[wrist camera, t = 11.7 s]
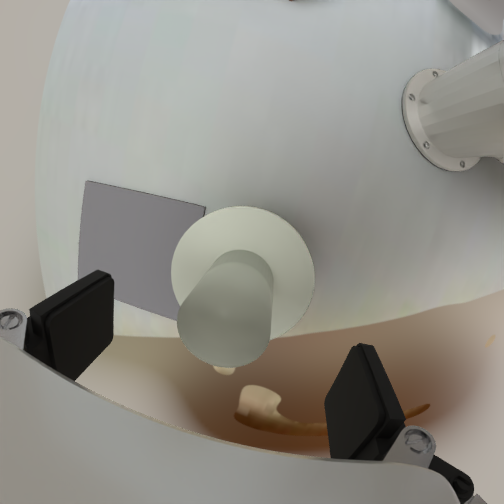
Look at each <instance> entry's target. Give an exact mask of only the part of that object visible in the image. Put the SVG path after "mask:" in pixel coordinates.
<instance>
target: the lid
mask: <svg viewBox="0 0 504 504" xmlns="http://www.w3.org/2000/svg"><path fill="white" fill-rule="evenodd" d="M171 280H172V286H173V290H174V293H175V296H176V299H177V301H178V303H179V305H180V309H179V311H178V316H177V328H178V332H179V335H180V338H181V340H182V342H183V343H184V345H185V346H186V347H187V349H188V350H189V351H190V352H191V353H192V354H193V355H195V356H196V357H197V358H199V359H200V360H202V361H204V362H206V363H209V364H211V365H214V366H218V367H225V368H233V367H239V366H244V365H246V364H249V363H251V362H253V361H254V360H256V359H257V358H258V357H259V356H260V355H261V354H262V353H263V352H264V351H265V349H266V347H267V346H268V343H269V340H271V339H274V338H276V337H279V336H280V335H282V334H284V333H286V332H287V331H288V330H290V329H291V328H292V327H293V326H294V325H295V324H296V323H297V322H298V321H299V320H300V319H301V318H302V316H303V315H304V313H305V312H306V310H307V308H308V306H309V304H310V302H311V299H312V295H313V291H314V284H315V271H314V266H313V261H312V258H311V255H310V252H309V250H308V248H307V246H306V244H305V242H304V240H303V239H302V237H301V236H300V234H299V233H298V232H297V231H296V230H295V228H294V227H293V226H292V225H291V224H289V223H288V222H287V221H286V220H284V219H283V218H281V217H280V216H278V215H277V214H274V213H272V212H270V211H268V210H265V209H261V208H258V207H252V206H232V207H227V208H223V209H219V210H217V211H214V212H212V213H210V214H208V215H206V216H204V217H202V218H201V219H199V220H198V221H197V222H195V223H194V224H193V225H192V226H191V227H190V228H189V229H188V230H187V231H186V232H185V233H184V235H183V236H182V238H181V239H180V241H179V243H178V245H177V247H176V249H175V252H174V255H173V260H172V266H171Z"/></svg>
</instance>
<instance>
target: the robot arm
mask: <svg viewBox="0 0 504 504" xmlns="http://www.w3.org/2000/svg"><path fill="white" fill-rule="evenodd" d="M409 98H410V99H409ZM402 109H403V116H404V120H405V124H406V127H407V130H408V132H409V134H410V136H411V139H412V140H413V142H414V143H415V145H416V147H417V148H418V149H419V151H420V152H421V153H422V154H423V155H424V156H425V157H426V158H427V159H428V160H429V161H430V162H431V163H433V164H434V165H436V166H438V167H439V168H442V169H445V170H448V171H464V170H468V169H470V168H471V167H473V166H474V165H475V164H476V163H477V162H478V161H479V160H480V158H481V157H483V156H489V157H495V158H496V159H497V160H498V161H500V162H501V163H503V164H504V40H502V41H500V42H499V43H497V44H495V45H493V46H491V47H489V48H487V49H486V50H484V51H482V52H480V53H478V54H476V55H475V56H473V57H471V58H469V59H467V60H466V61H464V62H462V63H460V64H459V65H457V66H455V67H454V68H452V69H450V70H448V71H444V70H440V69H426V70H423V71H421V72H419V73H417V74H416V75H414V76H413V77H412V78H411V79H410V80H409V82H408V83H407V85H406V87H405V90H404V94H403V99H402ZM423 144H424V145H423ZM424 146H425V147H424ZM113 313H114V279H112V276H111V274H109V273H106V272H104V271H101V270H95V271H94V272H92V273H90V274H88V275H86V276H85V277H83V278H81V279H79V280H78V281H76V282H74V283H72V284H71V285H69V286H67V287H65V288H64V289H62V290H60V291H59V292H57V293H55V294H54V295H52V296H50V297H49V298H47V299H45V300H44V301H42V302H40V303H39V304H37V305H35V306H34V307H32V308H31V309H30V317H28V318H27V317H26V315H25V313H23V312H22V311H20V310H18V309H4V310H1V311H0V504H487V503H486V502H485V501H484V500H483V499H482V498H481V497H480V496H479V495H478V494H476V495H475V496H473V493H474V484H473V482H472V480H471V479H470V477H469V476H468V475H466V474H465V473H463V472H462V471H460V470H459V469H456V468H455V467H453V466H452V465H450V464H448V463H447V462H445V461H443V460H442V459H440V458H439V457H437V456H435V455H434V452H435V449H436V443H435V440H434V438H433V436H432V435H431V434H430V433H429V432H428V431H426V430H425V429H423V428H421V427H418V426H408V427H405V424H404V421H405V420H406V418H405V416H404V413H403V411H402V409H401V406H400V404H399V401H398V399H397V397H396V394H395V392H394V390H393V388H392V385H391V383H390V381H389V379H388V376H387V374H386V372H385V370H384V368H383V365H382V363H381V361H380V359H379V357H378V354H377V352H376V350H375V348H374V346H372V345H367V344H362V343H359V344H357V346H353V347H352V348H351V350H350V352H349V354H348V356H347V358H346V360H345V362H344V364H343V366H342V368H341V370H340V372H339V374H338V376H337V377H336V379H335V381H334V383H333V385H332V387H331V389H330V391H329V392H328V394H327V396H326V398H325V403H324V404H325V413H326V421H327V429H328V437H329V446H330V455H331V458H322V457H312V456H304V455H296V454H289V453H282V452H276V451H270V450H264V449H259V448H254V447H249V446H245V445H240V444H236V443H232V442H227V441H224V440H220V439H216V438H212V437H209V436H205V435H202V434H198V433H195V432H192V431H189V430H186V429H183V428H179V427H177V426H173V425H171V424H168V423H165V422H162V421H160V420H157V419H154V418H152V417H149V416H147V415H144V414H142V413H139V412H137V411H134V410H132V409H130V408H127V407H125V406H123V405H120V404H118V403H116V402H114V401H112V400H110V399H108V398H105V397H104V396H101V395H99V394H97V393H95V392H93V391H92V390H90V389H88V388H86V387H84V386H82V385H80V384H78V383H77V382H75V380H76V379H77V378H78V377H79V376H80V375H81V374H82V372H84V370H85V369H86V368H87V367H88V366H89V365H90V364H91V363H92V362H93V361H94V360H95V359H96V358H97V357H98V356H99V355H100V354H101V352H103V350H104V349H105V348H106V347H107V346H108V345H109V344H110V343H111V341H112V339H113Z"/></svg>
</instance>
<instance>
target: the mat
mask: <svg viewBox="0 0 504 504" xmlns="http://www.w3.org/2000/svg"><path fill="white" fill-rule="evenodd" d="M205 208H206V207H204V206H200V205H196V204H191V203H187V202H183V201H179V200H174V199H170V198H166V197H161V196H157V195H152V194H148V193H143V192H139V191H134V190H130V189H125V188H120V187H116V186H111V185H106V184H101V183H96V182H91V181H86V183H85V190H84V197H83V205H82V214H81V224H80V237H79V255H78V280H79V279H81V278H83V277H85V276H86V275H88V274H90V273H92V272H94V271H95V270H101V271H104V272H106V273H109V274H111V276H112V279H114V299H116V300H119V301H121V302H124V303H127V304H129V305H132V306H135V307H138V308H140V309H143V310H146V311H149V312H152V313H155V314H158V315H161V316H164V317H167V318H170V319H173V320H176V321H177V316H178V311H179V309H180V305H179V303H178V301H177V299H176V296H175V293H174V290H173V286H172V280H171V266H172V260H173V255H174V252H175V249H176V247H177V245H178V243H179V241H180V239H181V238H182V236H183V235H184V233H185V232H186V231H187V230H188V229H189V228H190V227H191V226H192V225H193V224H194V223H195V222H197V221H198V220H199V219H201V218H202V217H204V212H205Z"/></svg>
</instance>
